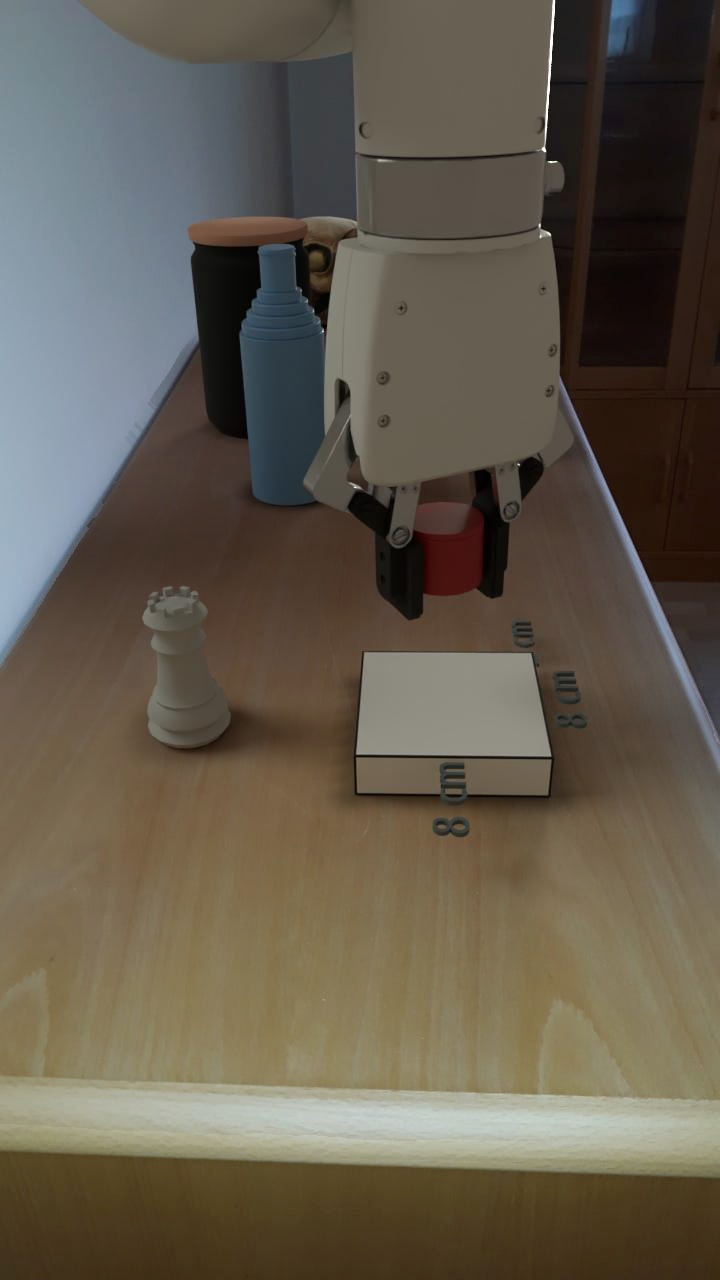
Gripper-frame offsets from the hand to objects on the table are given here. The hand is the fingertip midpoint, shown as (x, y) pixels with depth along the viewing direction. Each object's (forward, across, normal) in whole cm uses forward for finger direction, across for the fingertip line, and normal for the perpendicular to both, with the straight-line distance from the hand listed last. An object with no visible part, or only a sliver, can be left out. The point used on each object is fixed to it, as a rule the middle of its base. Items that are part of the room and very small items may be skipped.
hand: (441, 593), depth 49 cm
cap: (-1, 0, 0) cm, 1 cm away
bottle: (+8, -5, -34) cm, 35 cm away
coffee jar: (+8, -9, -51) cm, 53 cm away
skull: (+8, -32, -90) cm, 95 cm away
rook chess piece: (+8, +12, -6) cm, 16 cm away
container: (+8, 0, +2) cm, 8 cm away
